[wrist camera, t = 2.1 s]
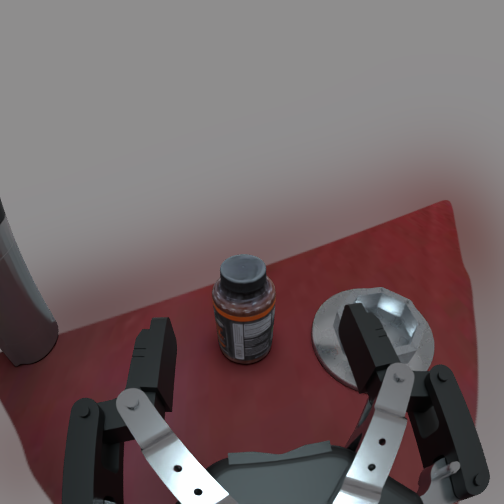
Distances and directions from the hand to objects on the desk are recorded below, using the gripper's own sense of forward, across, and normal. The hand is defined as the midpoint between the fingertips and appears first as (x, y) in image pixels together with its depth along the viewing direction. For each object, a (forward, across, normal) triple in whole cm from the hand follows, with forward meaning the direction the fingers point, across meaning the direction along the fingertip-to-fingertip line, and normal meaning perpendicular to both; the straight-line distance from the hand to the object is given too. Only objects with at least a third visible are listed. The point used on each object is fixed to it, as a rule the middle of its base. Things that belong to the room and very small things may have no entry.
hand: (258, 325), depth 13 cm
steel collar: (+10, -15, +16) cm, 25 cm away
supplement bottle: (+11, 0, +17) cm, 20 cm away
